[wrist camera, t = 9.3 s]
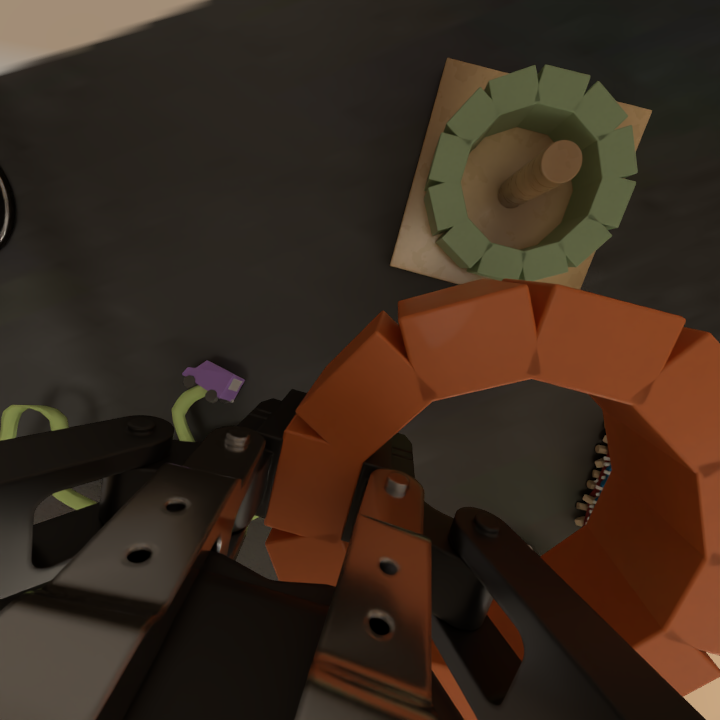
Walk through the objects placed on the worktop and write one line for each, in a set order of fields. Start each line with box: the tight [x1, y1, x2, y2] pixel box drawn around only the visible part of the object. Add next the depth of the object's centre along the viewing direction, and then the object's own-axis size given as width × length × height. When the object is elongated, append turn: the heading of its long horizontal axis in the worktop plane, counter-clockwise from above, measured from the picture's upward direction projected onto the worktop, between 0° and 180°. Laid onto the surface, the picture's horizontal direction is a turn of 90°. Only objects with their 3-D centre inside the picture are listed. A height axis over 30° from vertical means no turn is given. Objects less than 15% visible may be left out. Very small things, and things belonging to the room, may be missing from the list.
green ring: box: [424, 65, 638, 281], centre depth 25 cm, size 12×12×4 cm
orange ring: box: [264, 278, 720, 720], centre depth 11 cm, size 12×12×4 cm
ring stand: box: [390, 58, 652, 290], centre depth 24 cm, size 14×14×10 cm
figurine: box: [0, 361, 259, 520], centre depth 34 cm, size 18×27×6 cm
